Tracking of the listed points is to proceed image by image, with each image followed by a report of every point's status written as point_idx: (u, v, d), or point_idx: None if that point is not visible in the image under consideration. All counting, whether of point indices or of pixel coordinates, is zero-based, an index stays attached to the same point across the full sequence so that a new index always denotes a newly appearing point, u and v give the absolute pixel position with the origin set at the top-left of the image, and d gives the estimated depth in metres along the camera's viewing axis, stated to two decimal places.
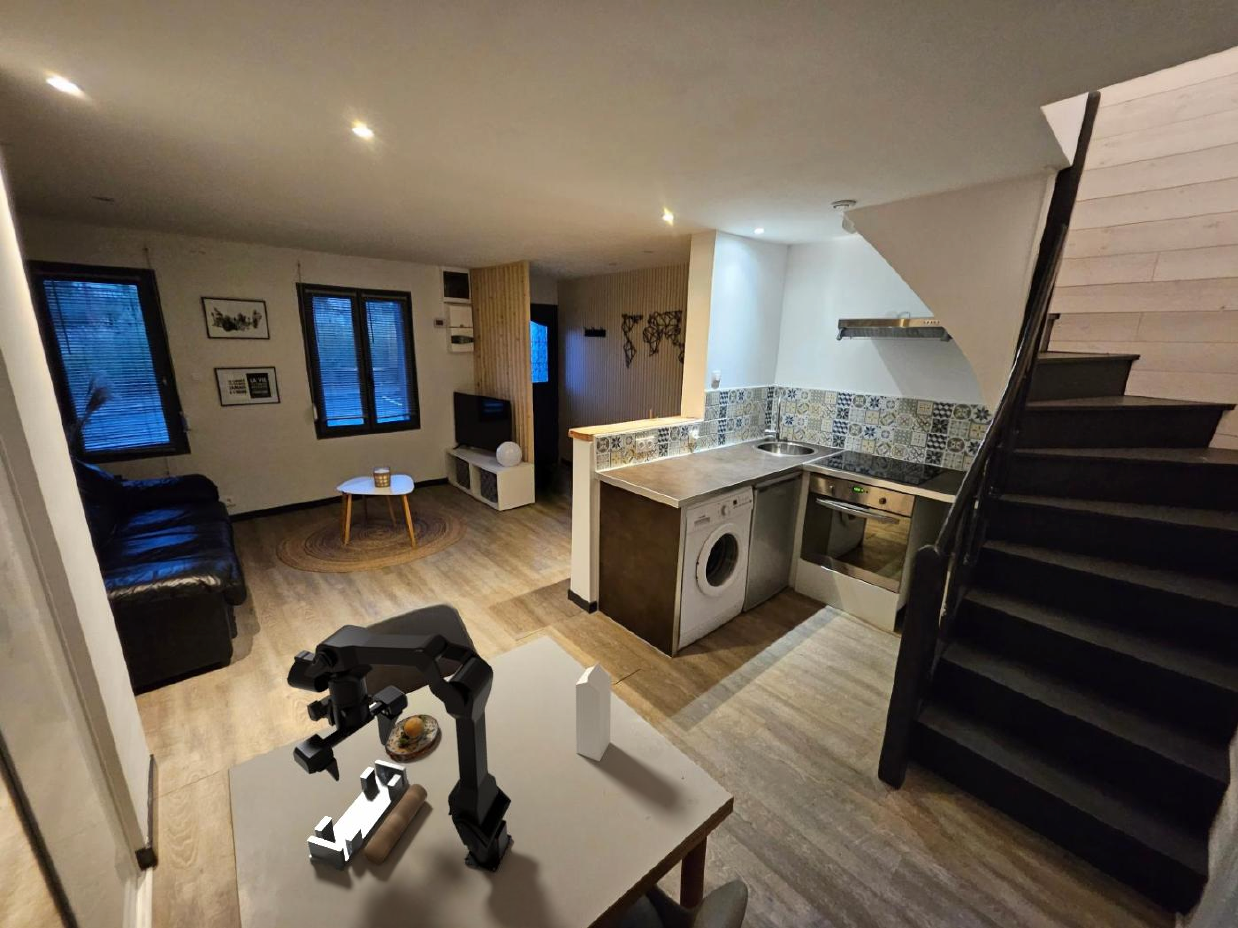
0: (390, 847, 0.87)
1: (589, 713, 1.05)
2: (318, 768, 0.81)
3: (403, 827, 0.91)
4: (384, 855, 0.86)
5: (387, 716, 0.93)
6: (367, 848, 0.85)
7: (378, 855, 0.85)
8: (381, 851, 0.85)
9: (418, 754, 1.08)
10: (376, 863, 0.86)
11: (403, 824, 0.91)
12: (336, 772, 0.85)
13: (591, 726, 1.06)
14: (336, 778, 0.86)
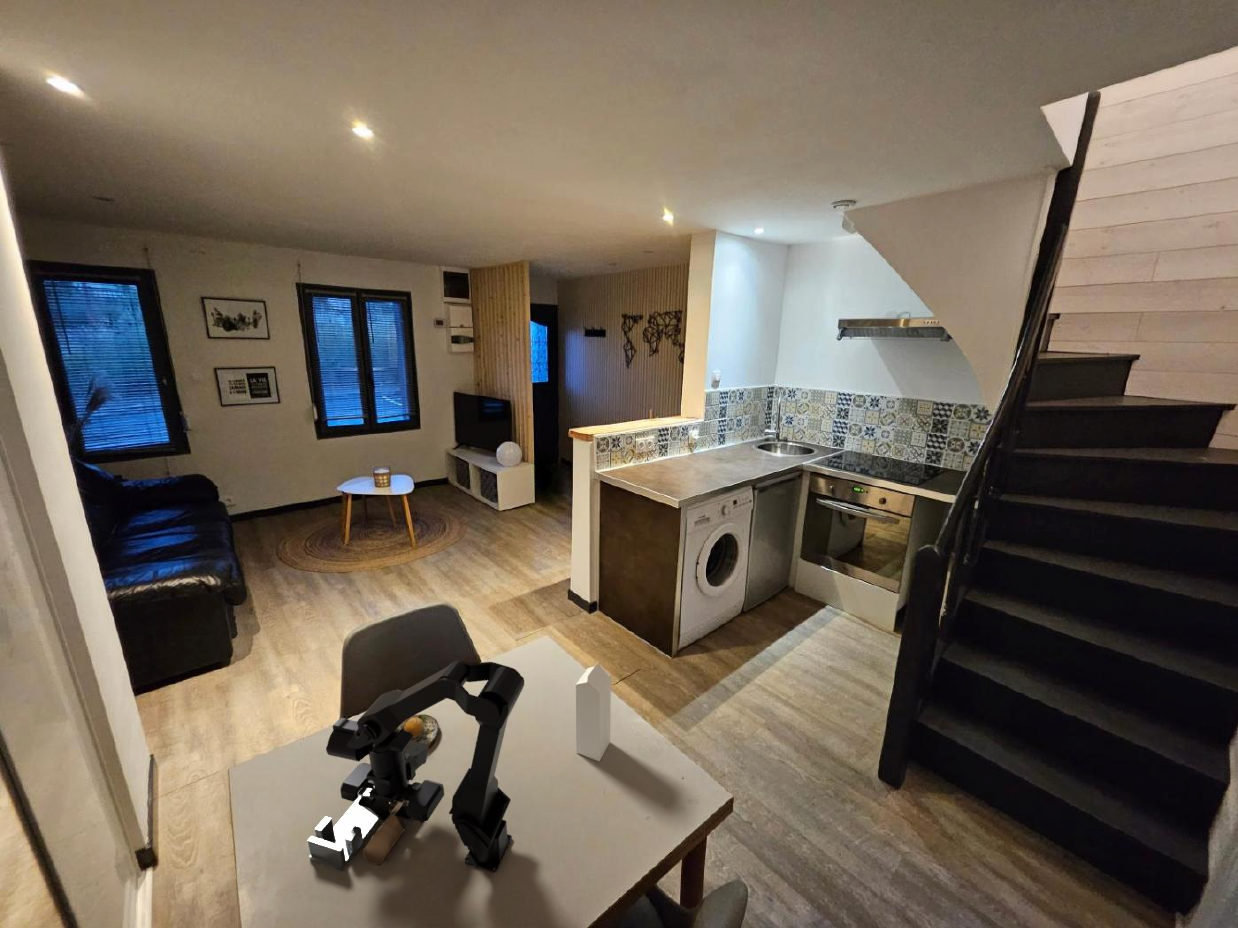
0: (390, 847, 0.87)
1: (589, 713, 1.05)
2: (344, 797, 0.89)
3: None
4: (384, 855, 0.86)
5: (401, 808, 0.88)
6: (367, 848, 0.85)
7: (378, 855, 0.85)
8: (381, 851, 0.86)
9: None
10: (376, 863, 0.86)
11: None
12: (377, 816, 0.90)
13: (591, 726, 1.06)
14: (381, 820, 0.91)
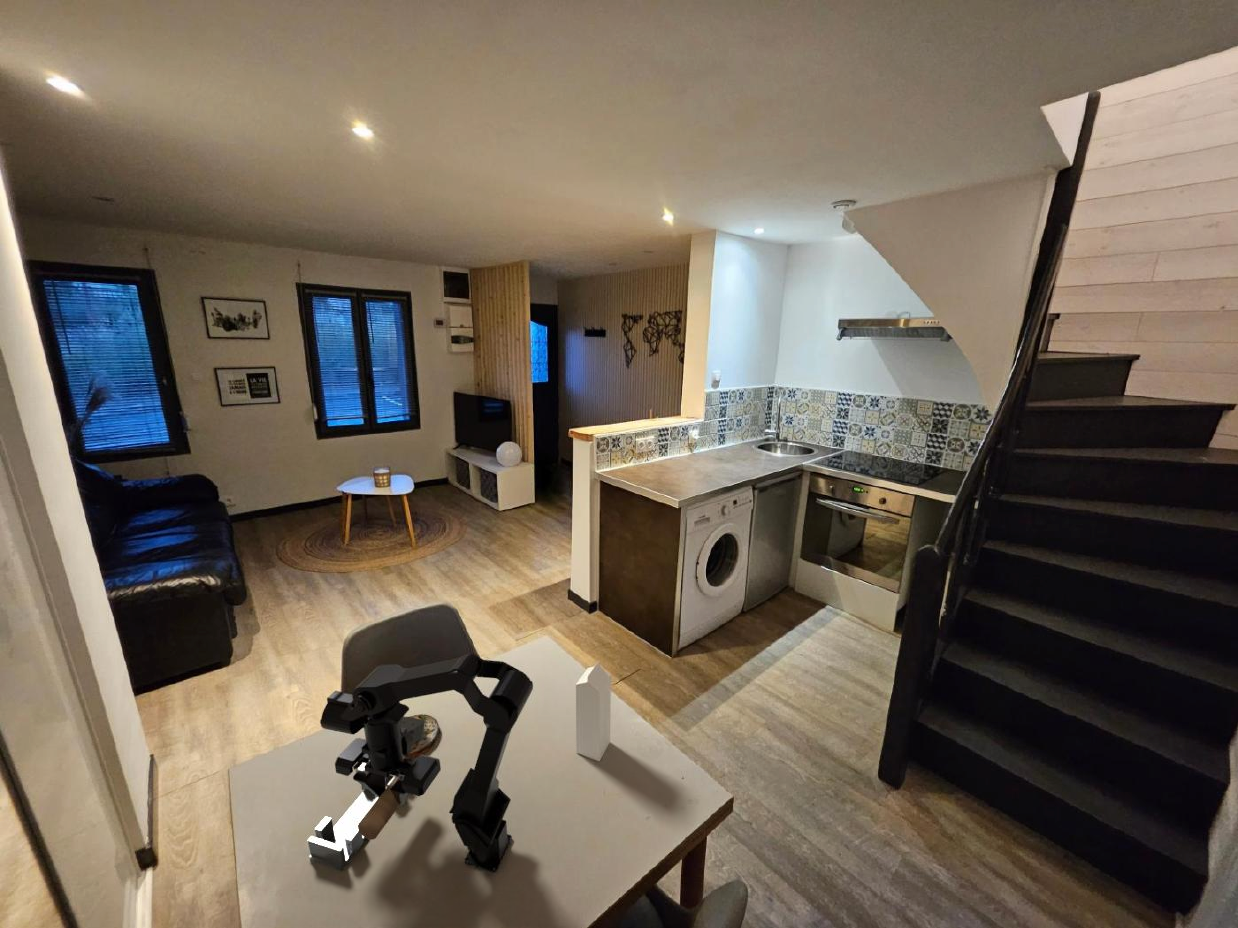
0: (385, 821, 0.86)
1: (589, 713, 1.05)
2: (338, 772, 0.87)
3: None
4: (379, 829, 0.84)
5: (396, 782, 0.86)
6: (362, 822, 0.84)
7: (373, 829, 0.84)
8: (376, 825, 0.84)
9: (418, 754, 1.08)
10: (371, 837, 0.84)
11: None
12: (373, 791, 0.89)
13: (591, 726, 1.06)
14: (377, 796, 0.90)
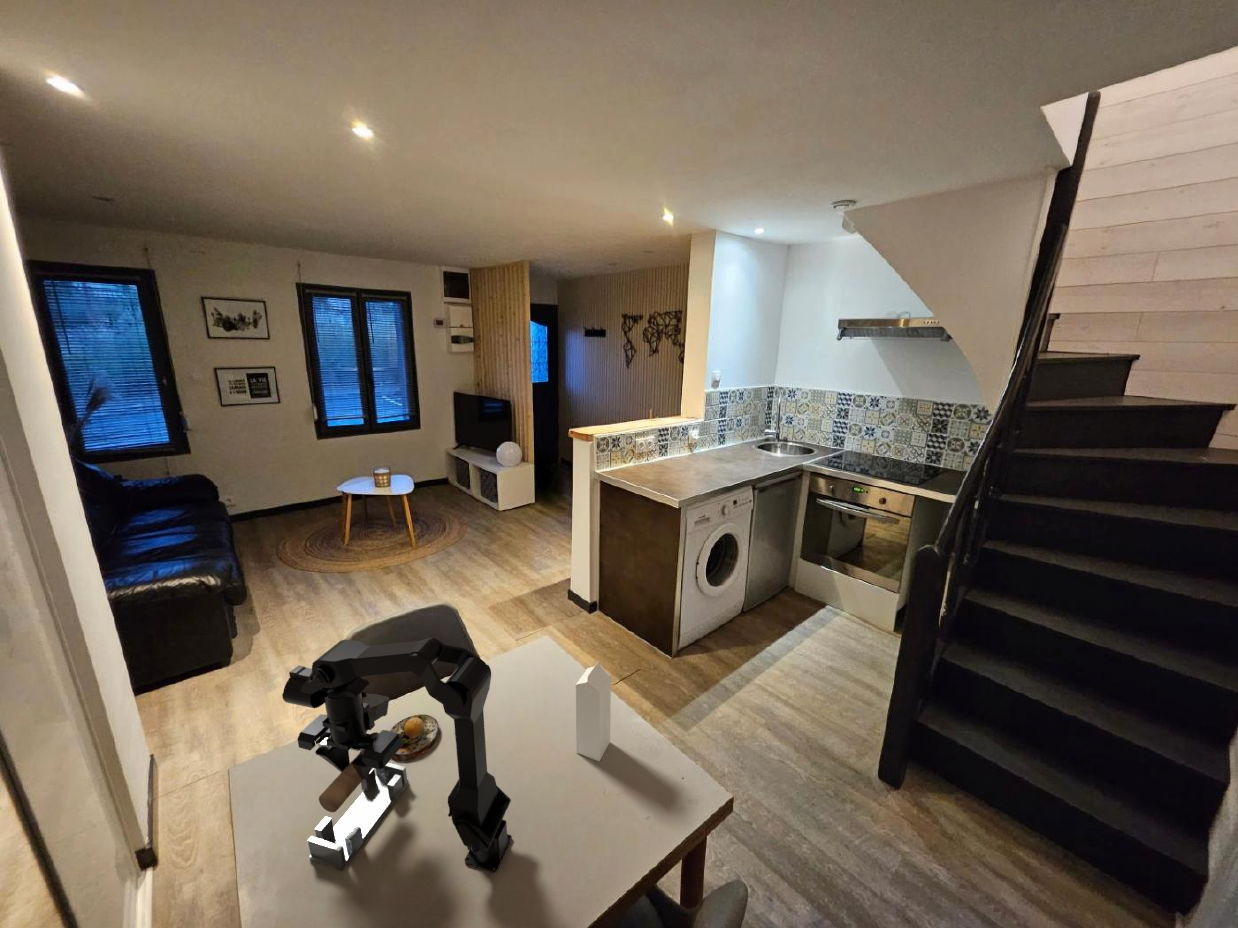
0: (347, 795, 0.87)
1: (589, 713, 1.05)
2: (301, 746, 0.88)
3: None
4: (340, 802, 0.85)
5: (358, 756, 0.87)
6: (323, 794, 0.85)
7: (334, 802, 0.84)
8: (337, 798, 0.85)
9: (418, 754, 1.08)
10: (332, 810, 0.85)
11: None
12: (335, 766, 0.89)
13: (591, 726, 1.06)
14: (340, 771, 0.91)
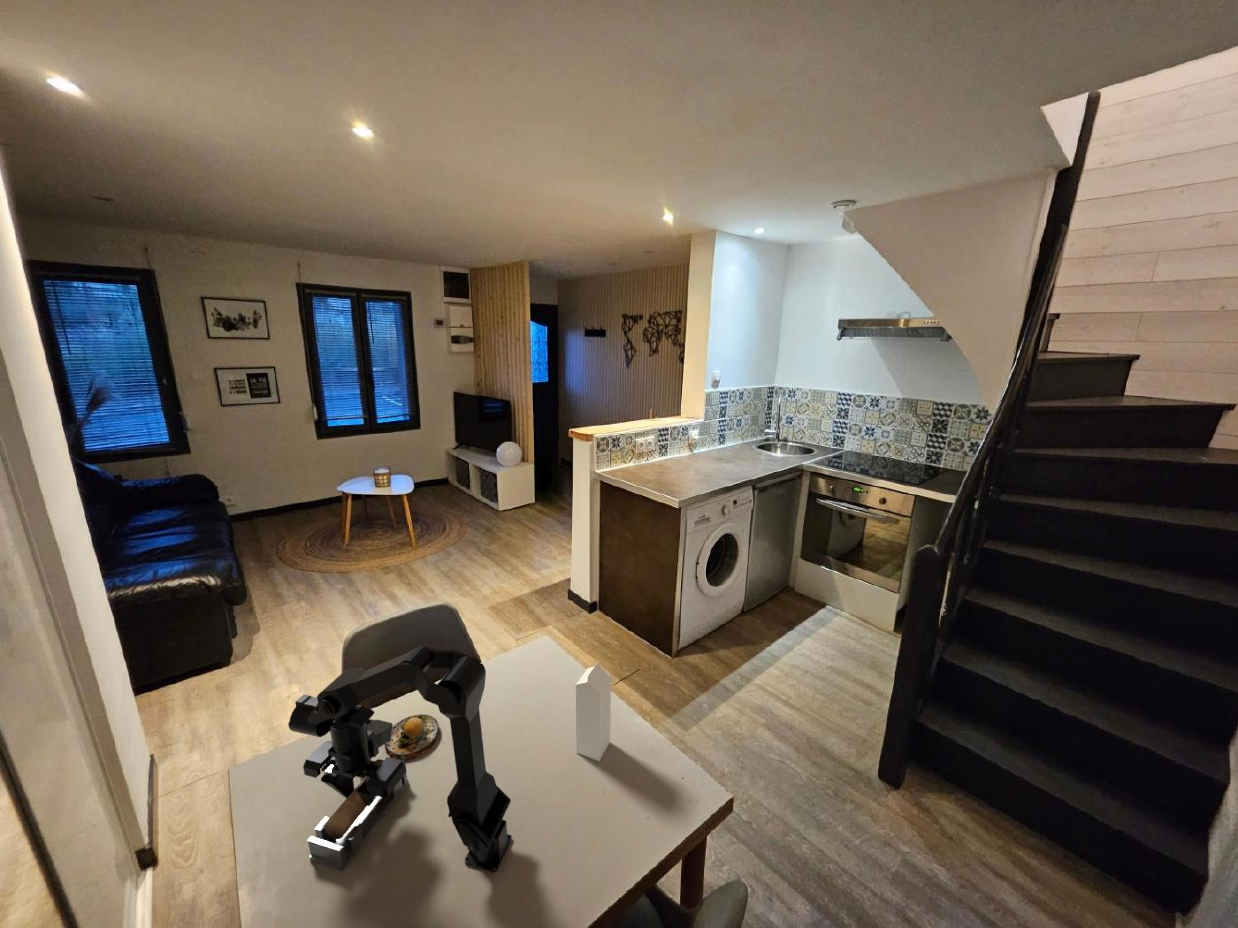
0: (351, 821, 0.88)
1: (589, 713, 1.05)
2: (307, 773, 0.90)
3: None
4: (345, 829, 0.87)
5: (362, 784, 0.89)
6: (328, 822, 0.86)
7: (339, 829, 0.86)
8: (342, 825, 0.86)
9: (418, 754, 1.08)
10: (337, 837, 0.87)
11: None
12: (340, 793, 0.91)
13: (591, 726, 1.06)
14: (345, 797, 0.92)
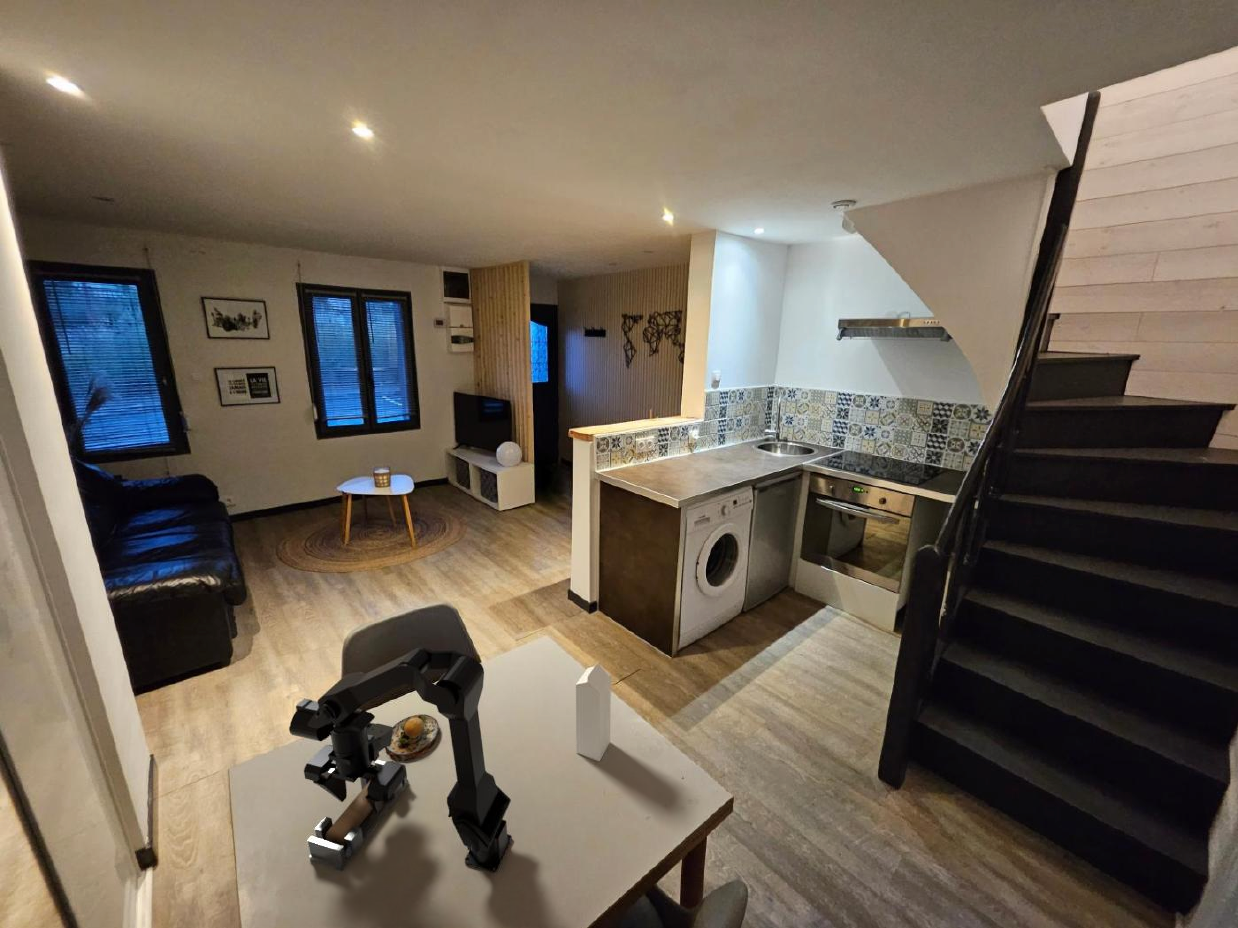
0: None
1: (589, 713, 1.05)
2: (307, 777, 0.90)
3: (367, 811, 0.92)
4: None
5: None
6: (329, 831, 0.87)
7: (340, 838, 0.87)
8: (343, 834, 0.87)
9: (418, 754, 1.08)
10: None
11: (366, 808, 0.92)
12: (333, 794, 0.92)
13: (591, 726, 1.06)
14: (337, 798, 0.93)
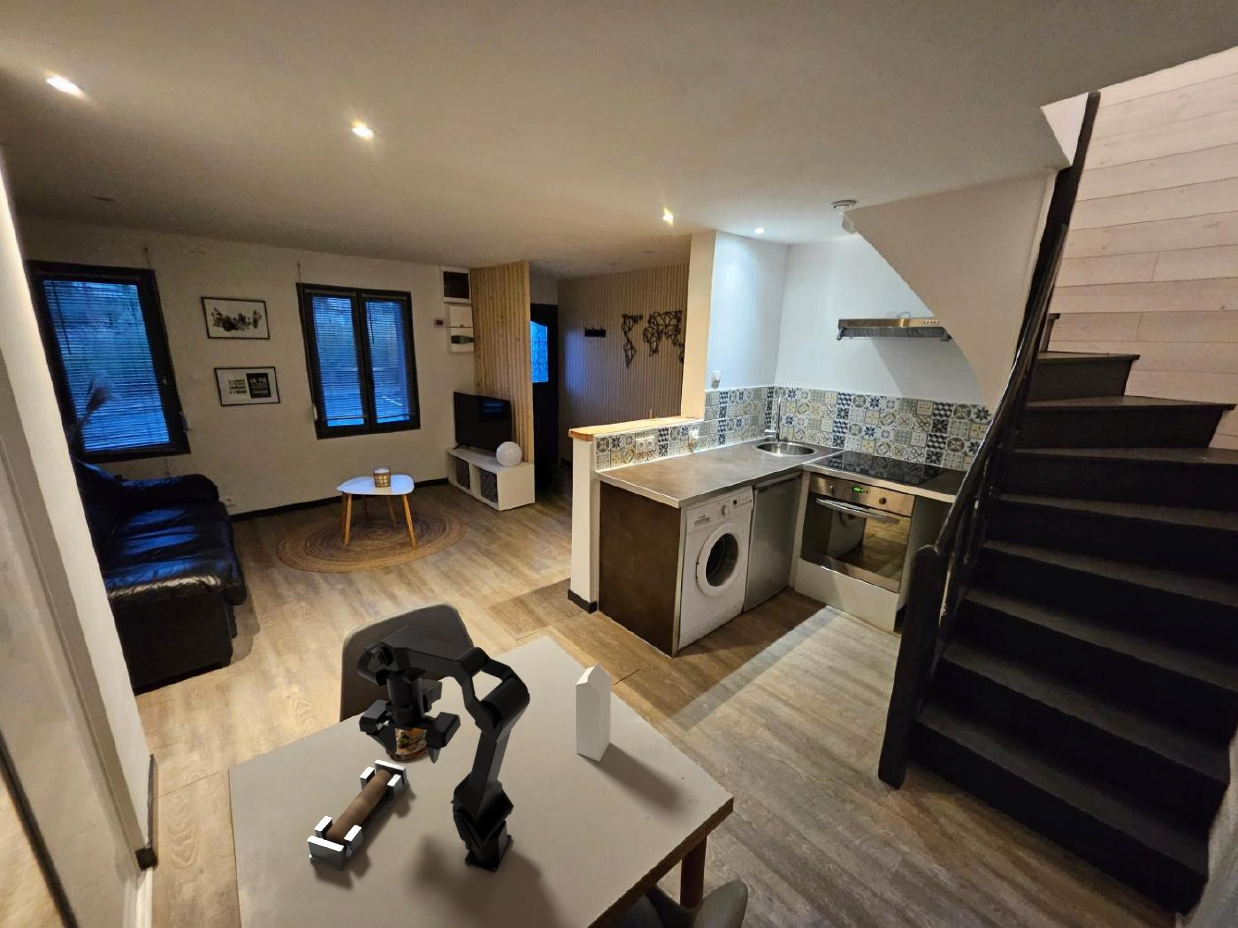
0: None
1: (589, 713, 1.05)
2: (363, 730, 0.91)
3: (367, 811, 0.92)
4: None
5: None
6: (329, 831, 0.87)
7: (340, 838, 0.87)
8: (343, 834, 0.87)
9: (418, 754, 1.08)
10: None
11: (367, 809, 0.92)
12: (385, 746, 0.93)
13: (591, 726, 1.06)
14: (389, 751, 0.94)
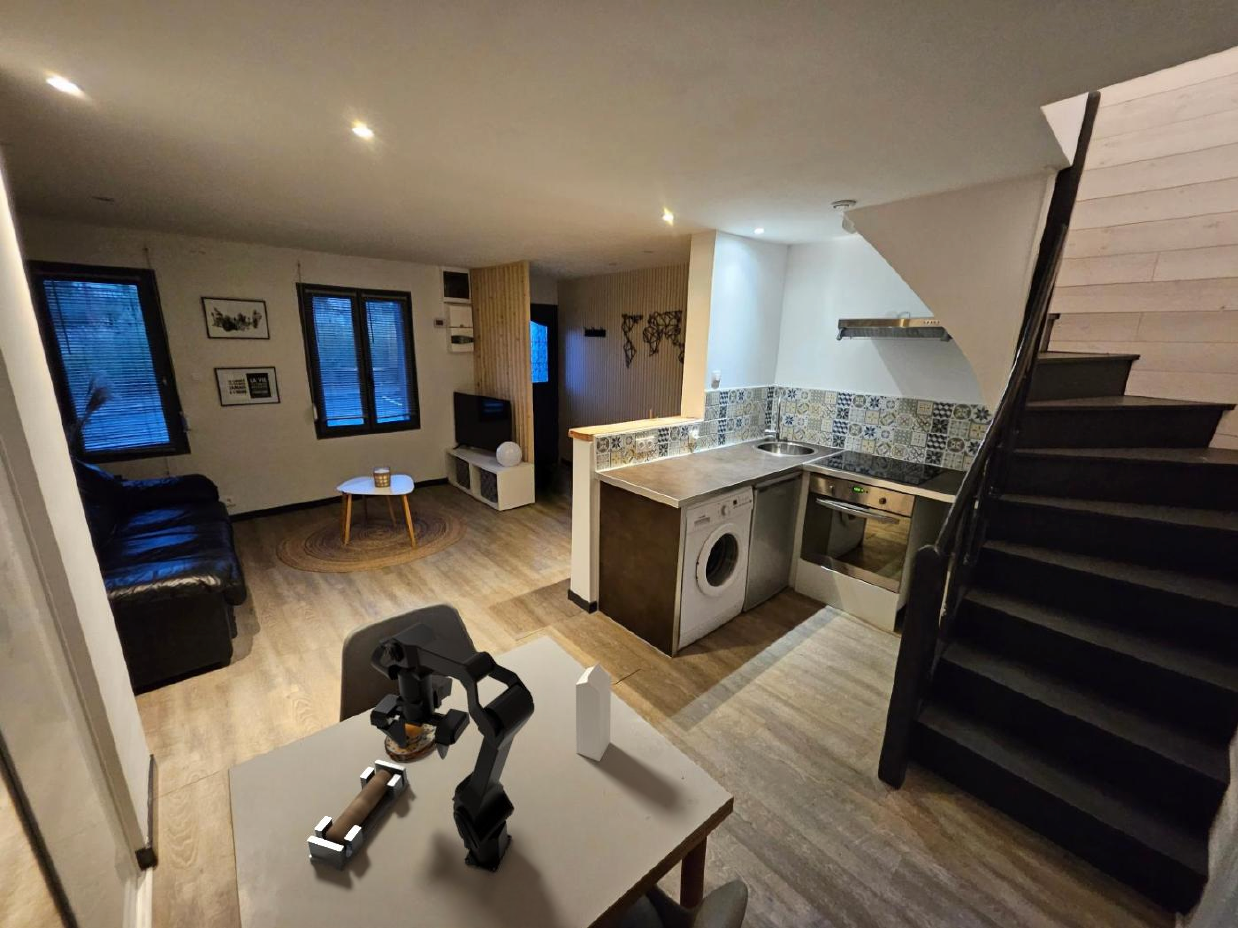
0: None
1: (589, 713, 1.05)
2: (373, 724, 0.92)
3: (367, 811, 0.92)
4: None
5: None
6: (329, 831, 0.87)
7: (340, 838, 0.87)
8: (343, 834, 0.87)
9: (418, 754, 1.08)
10: None
11: (366, 808, 0.92)
12: (395, 740, 0.94)
13: (591, 726, 1.06)
14: (398, 745, 0.95)
